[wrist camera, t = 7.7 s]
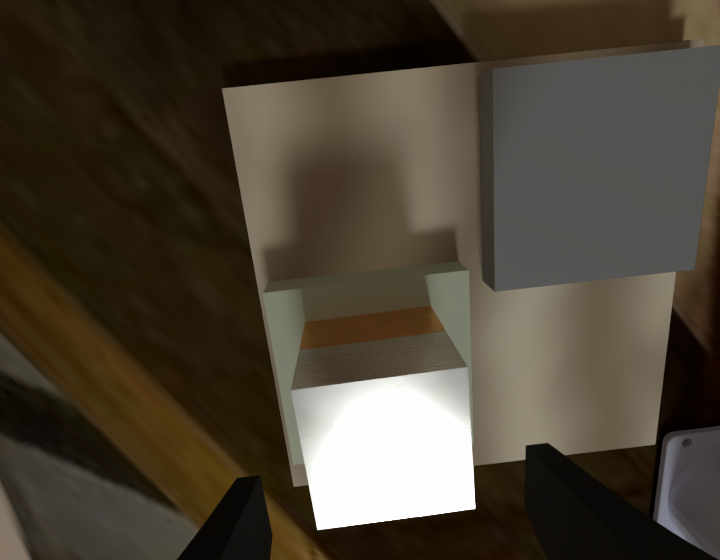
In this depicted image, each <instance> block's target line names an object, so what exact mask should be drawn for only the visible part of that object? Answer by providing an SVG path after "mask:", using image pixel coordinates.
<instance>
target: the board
mask: <svg viewBox="0 0 720 560" xmlns="http://www.w3.org/2000/svg"><path fill="white" fill-rule="evenodd" d="M703 46H704V39H696V40H686V41H677V42H667V43H657V44H648V45H638V46H628V47H619V48H609V49H599V50H590V51H580V52H570V53H561V54H551V55H542V56H532V57H522V58H513V59H503V60H493V61H484V62H474V63H464V64H455V65H445V66H435V67H426V68H416V69H406V70H397V71H387V72H377V73H368V74H358V75H348V76H339V77H329V78H319V79H310V80H300V81H290V82H281V83H271V84H261V85H252V86H242V87H232V88H223V89H222V92H223V97H224V103H225V108H226V114H227V120H228V125H229V131H230V136H231V142H232V147H233V153H234V158H235V164H236V169H237V175H238V180H239V186H240V191H241V197H242V203H243V208H244V214H245V219H246V225H247V230H248V236H249V241H250V247H251V252H252V258H253V263H254V269H255V274H256V280H257V286H258V291H259V297H260V302H261V308H262V313H263V319H264V324H265V330H266V335H267V341H268V346H269V352H270V357H271V363H272V368H273V374H274V380H275V385H276V391H277V396H278V402H279V407H280V413H281V418H282V424H283V429H284V435H285V440H286V446H287V451H288V457H289V463H290V468H291V474H292V479H293V485H294V487H295V486H304V485H309V483H308V478H307V473H306V468H305V464H298V465H293V461H292V456H291V450H290V444H289V439H288V433H287V428H286V422H285V416H284V411H283V405H282V399H281V394H280V388H279V383H278V377H277V371H276V366H275V360H274V355H273V349H272V343H271V338H270V332H269V326H268V321H267V315H266V310H265V304H264V298H263V291H264V290H265V288H266V286H267V284H268V283H269V282H271V281H280V280H289V279H298V278H308V277H317V276H326V275H335V274H344V273H353V272H362V271H371V270H380V269H389V268H398V267H408V266H417V265H426V264H435V263H444V262H453V261H459V262H460V263H461V264H463V265H464V266H465V267H466V268H467V269H468V270H469V291H470V327H471V364H472V400H473V437H474V444H472V456H473V466H475V465H483V464H492V463H501V462H509V461H518V460H525V452H526V445H533V444H542V443H549V444H550V445H552V446H553V447H554V448H556V449H557V450H558V451H560V452H561V453H562V454H564V455H569V454H578V453H586V452H595V451H603V450H612V449H621V448H629V447H638V446H646V445H655V442H656V434H657V426H658V418H659V409H660V401H661V393H662V385H663V376H664V368H665V360H666V352H667V343H668V335H669V327H670V319H671V310H672V302H673V294H674V286H675V277H676V272H669V273H660V274H651V275H642V276H633V277H624V278H615V279H606V280H597V281H588V282H579V283H570V284H561V285H552V286H543V287H534V288H525V289H516V290H507V291H498V292H494V291H493V290H492V289H491V288H490V287H489V286H488V285H486V284H485V283H484V282H483V281H482V232H481V176H480V121H479V76H481V75H483V74H484V73H486V72H488V71H490V70H491V69H495V68H504V67H514V66H524V65H533V64H543V63H553V62H562V61H572V60H581V59H591V58H601V57H610V56H620V55H630V54H639V53H649V52H659V51H668V50H678V49H687V48H697V47H703Z"/></svg>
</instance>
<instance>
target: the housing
mask: <svg viewBox="0 0 720 560" xmlns="http://www.w3.org/2000/svg"><path fill="white" fill-rule="evenodd" d="M291 395H292V401H293V406H294V411H295V416H296V421H297V426H298V432H299V437H300V442H301V447H302V452H303V457H304V463H305V468H306V473H307V478H308V483H309V489H310V494H311V499H312V504H313V509H314V514H315V520H316V525H317V530H320V529H327V528H335V527H342V526H349V525H357V524H364V523H372V522H379V521H387V520H394V519H401V518H409V517H416V516H424V515H431V514H439V513H446V512H454V511H461V510H468V509H475V494H474V475H473V456H472V437H471V418H470V399H469V380H468V367H467V365H466V363H465V362H464V360H463V358H462V357H461V355H460V353H459V352H458V350H457V348H456V347H455V345H454V343H453V342H452V340H451V338H450V337H449V335H448V333H447V332H446V330H445V328H444V327H443V325H442V323H441V322H440V320H439V318H438V317H437V315H436V313H435V312H434V310H433V309H432V307H431V306H425V307H418V308H410V309H402V310H395V311H387V312H379V313H372V314H364V315H356V316H349V317H341V318H333V319H326V320H318V321H310V322H305V325H304V330H303V335H302V339H301V344H300V348H299V353H298V358H297V362H296V367H295V372H294V376H293V381H292V386H291Z"/></svg>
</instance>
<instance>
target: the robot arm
mask: <svg viewBox="0 0 720 560" xmlns="http://www.w3.org/2000/svg"><path fill="white" fill-rule="evenodd" d="M525 508H526V511H527V513H528V516H529V518H530V521H531V523H532V526H533V528H534V531H535V533H536V535H537V538H538V540H539V542H540V545H541V547H542V549H543V551H544V553H545V555H546V557H547V558H548V560H720V426H716V427H707V428H699V429H690V430H682V431H673V432H670V433H668V434H666V435H665V437H664V439H663V443H662V451H661V459H660V467H659V475H658V483H657V491H656V499H655V506H654V514H653V519H652V518H650V517H649V516H647V515H646V514H644V513H643V512H641V511H640V510H638V509H637V508H635V507H634V506H632V505H631V504H630V503H628V502H627V501H625V500H624V499H622V498H621V497H620V496H618V495H617V494H615V493H614V492H613V491H611V490H610V489H609V488H607V487H606V486H604V485H603V484H602V483H600V482H599V481H598V480H596V479H595V478H594V477H592V476H591V475H590V474H588V473H587V472H586V471H584V470H583V469H582V468H581V467H579V466H578V465H577V464H575V463H574V462H573V461H571V460H570V459H569V458H567V457H566V456H565V455H564V454H562V453H561V452H560V451H558V450H557V449H556V448H554V447H553V446H552V445H550V444H549V443H542V444H533V445H526V452H525ZM271 544H272V531H271V526H270V521H269V516H268V512H267V507H266V502H265V497H264V492H263V487H262V483H261V478H260V476H251V477H242V478H237V479H236V480H235V482H234V483H233V484H232V486H231V487H230V488H229V490H228V491H227V493H226V494H225V496H224V497H223V498H222V500H221V501H220V503H219V504H218V505H217V507H216V508H215V510H214V511H213V512H212V514H211V515H210V517H209V518H208V519H207V521H206V522H205V523H204V525H203V526H202V527H201V529H200V530H199V531H198V533H197V534H196V535H195V537H194V538H193V539H192V541H191V542H190V543H189V545H188V546H187V547H186V549H185V550H184V551H183V552H182V554H181V555H180V556H179V557H178V559H177V560H270V554H271Z"/></svg>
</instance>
